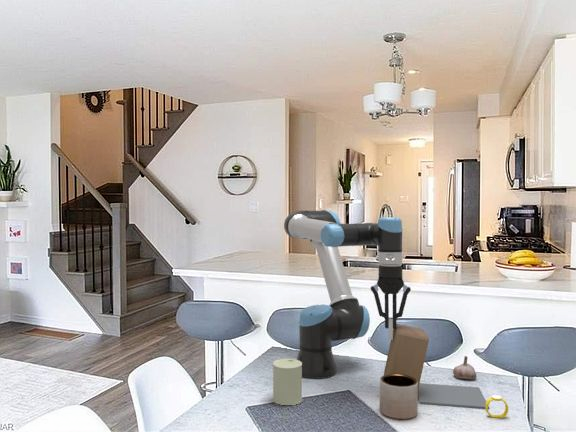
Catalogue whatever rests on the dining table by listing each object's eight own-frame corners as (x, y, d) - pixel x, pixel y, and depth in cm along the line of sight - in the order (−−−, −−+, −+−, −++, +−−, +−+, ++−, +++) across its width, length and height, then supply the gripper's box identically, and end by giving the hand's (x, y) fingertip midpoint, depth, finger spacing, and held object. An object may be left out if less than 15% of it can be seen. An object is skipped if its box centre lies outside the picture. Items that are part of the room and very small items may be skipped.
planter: (394, 423, 136) (394, 389, 135) (372, 408, 146) (372, 376, 145) (425, 416, 140) (425, 383, 140) (402, 402, 150) (402, 371, 150)
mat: (419, 403, 149) (419, 401, 149) (416, 384, 165) (416, 382, 165) (489, 409, 145) (489, 407, 145) (479, 389, 161) (479, 387, 161)
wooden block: (411, 386, 162) (424, 328, 161) (416, 399, 152) (430, 337, 151) (382, 380, 163) (394, 322, 162) (385, 392, 153) (397, 330, 152)
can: (306, 396, 155) (306, 358, 154) (297, 407, 146) (297, 368, 145) (278, 392, 158) (278, 355, 157) (268, 403, 149) (268, 364, 149)
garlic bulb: (480, 380, 169) (481, 357, 169) (464, 383, 166) (464, 360, 166) (464, 373, 176) (465, 351, 176) (448, 376, 173) (449, 353, 173)
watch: (487, 419, 139) (486, 398, 139) (484, 415, 142) (483, 395, 141) (509, 419, 138) (508, 398, 138) (506, 415, 141) (505, 394, 141)
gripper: (369, 265, 155) (370, 340, 155) (411, 266, 152) (411, 342, 152) (370, 263, 162) (370, 335, 162) (410, 264, 160) (410, 336, 159)
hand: (390, 338), depth 157 cm, fingers closed
